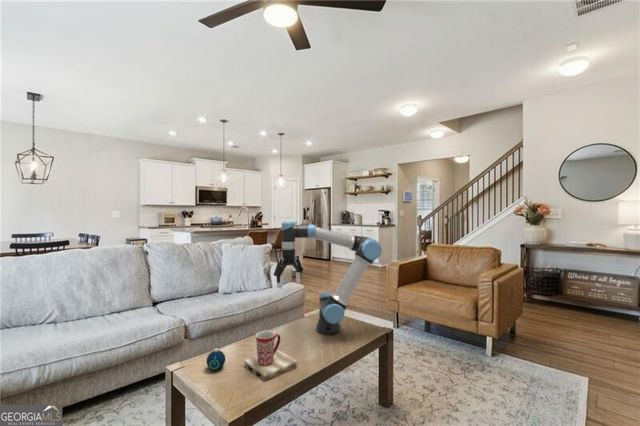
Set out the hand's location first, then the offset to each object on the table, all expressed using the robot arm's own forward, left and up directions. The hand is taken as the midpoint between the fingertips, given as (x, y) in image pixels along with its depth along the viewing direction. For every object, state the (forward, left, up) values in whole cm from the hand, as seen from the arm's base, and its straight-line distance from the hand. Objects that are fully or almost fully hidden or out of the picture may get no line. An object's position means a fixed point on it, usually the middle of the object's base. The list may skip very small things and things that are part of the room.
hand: (289, 285), depth 175 cm
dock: (+24, +17, -32) cm, 43 cm away
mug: (+25, +17, -29) cm, 42 cm away
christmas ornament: (+44, +1, -32) cm, 54 cm away
